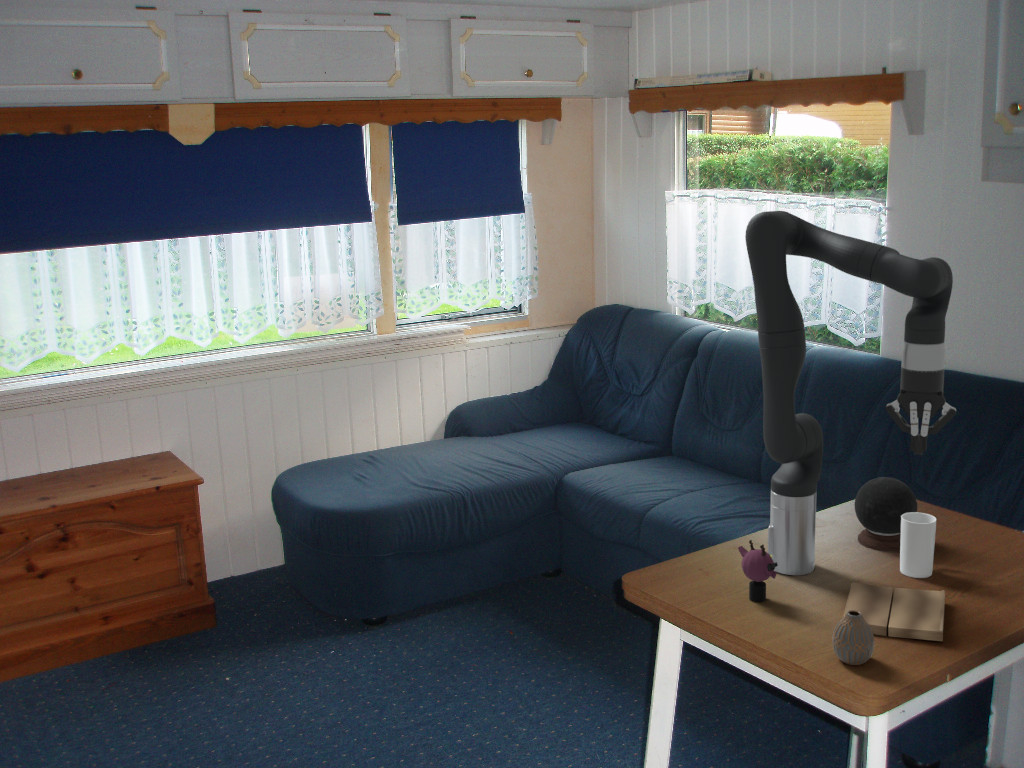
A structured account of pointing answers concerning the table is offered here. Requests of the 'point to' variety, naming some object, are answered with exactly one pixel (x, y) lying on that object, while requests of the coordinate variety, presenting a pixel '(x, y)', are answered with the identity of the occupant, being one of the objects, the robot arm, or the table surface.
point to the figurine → (757, 570)
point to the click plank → (917, 614)
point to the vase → (853, 639)
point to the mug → (917, 544)
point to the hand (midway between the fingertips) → (918, 453)
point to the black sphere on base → (883, 512)
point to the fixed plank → (871, 605)
